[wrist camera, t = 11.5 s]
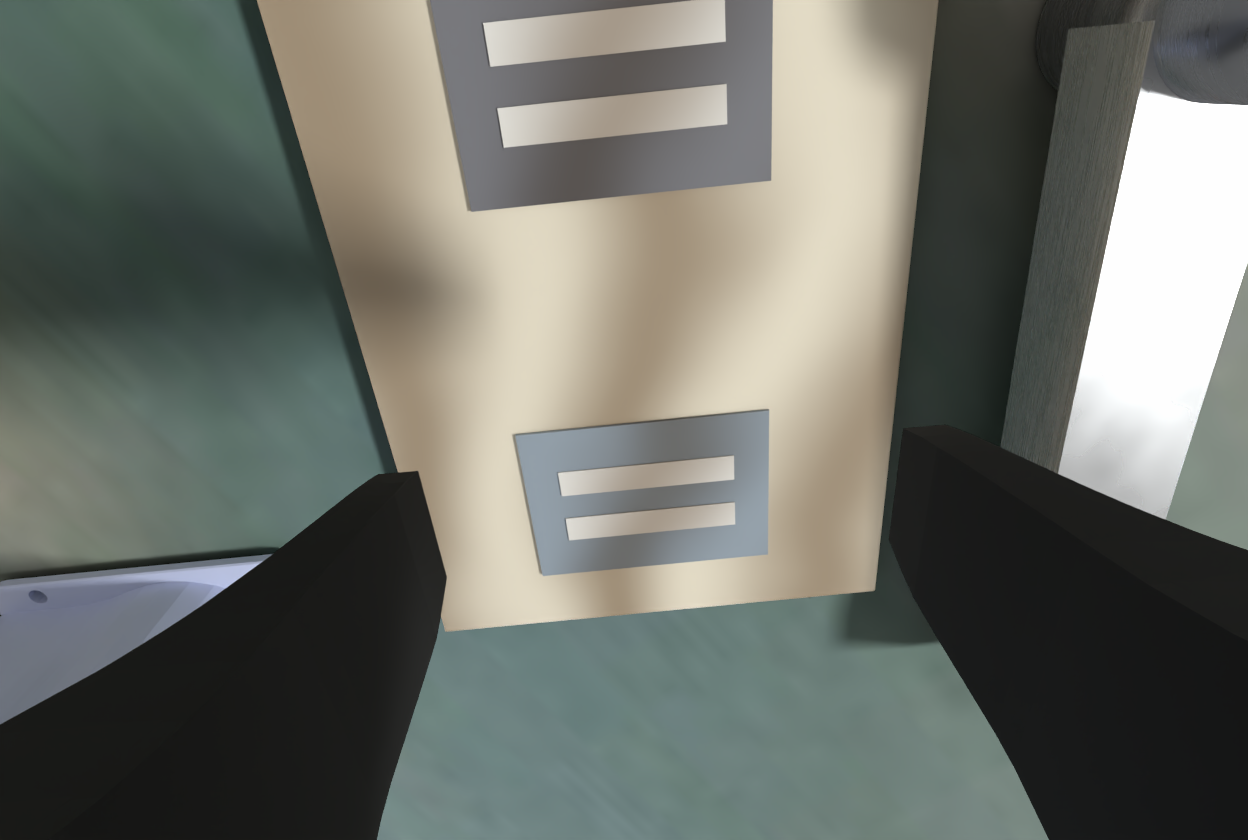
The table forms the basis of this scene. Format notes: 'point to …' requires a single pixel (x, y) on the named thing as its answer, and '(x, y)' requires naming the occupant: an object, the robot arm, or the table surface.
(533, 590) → the label board
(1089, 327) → the light grey long piece
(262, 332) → the table surface
